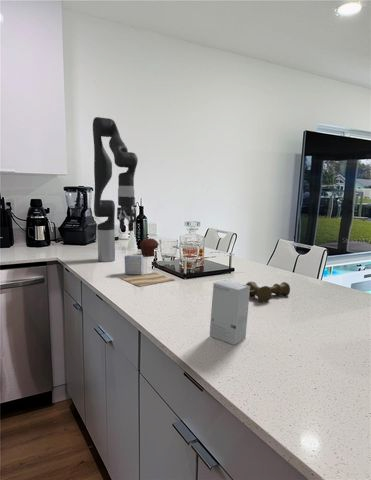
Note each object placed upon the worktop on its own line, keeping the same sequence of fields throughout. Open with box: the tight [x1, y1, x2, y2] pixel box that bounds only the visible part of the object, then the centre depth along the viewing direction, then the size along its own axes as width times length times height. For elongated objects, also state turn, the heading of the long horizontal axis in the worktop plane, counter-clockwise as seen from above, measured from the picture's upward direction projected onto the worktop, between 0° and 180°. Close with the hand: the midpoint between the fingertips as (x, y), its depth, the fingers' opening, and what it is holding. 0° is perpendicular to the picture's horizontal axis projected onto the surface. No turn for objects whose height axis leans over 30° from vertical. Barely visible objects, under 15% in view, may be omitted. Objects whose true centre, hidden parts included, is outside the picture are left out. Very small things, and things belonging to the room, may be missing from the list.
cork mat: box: [120, 272, 176, 288], centre depth 145 cm, size 16×18×1 cm
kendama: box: [245, 281, 291, 303], centre depth 122 cm, size 6×10×20 cm
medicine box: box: [124, 254, 145, 275], centre depth 153 cm, size 8×4×9 cm, turn 84°
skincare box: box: [209, 279, 250, 346], centre depth 87 cm, size 8×6×15 cm
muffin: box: [139, 238, 160, 257], centre depth 200 cm, size 12×11×10 cm
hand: (126, 230), depth 157 cm, fingers open, 8 cm apart
